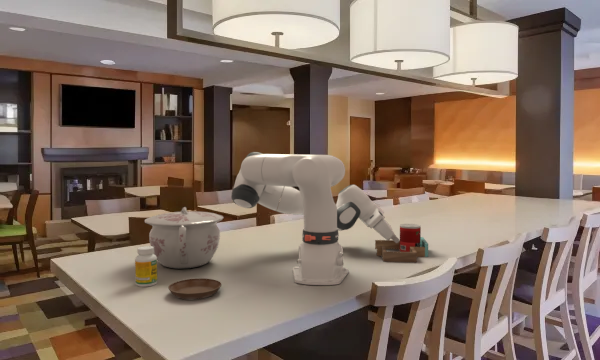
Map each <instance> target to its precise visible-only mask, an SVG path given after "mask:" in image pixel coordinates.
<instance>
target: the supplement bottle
mask: <svg viewBox="0 0 600 360" xmlns="http://www.w3.org/2000/svg"><path fill="white" fill-rule="evenodd" d="M136 252H137V254H138V255H136V257H135V258H134V266H135V267H134V268H135V269H134V270H135V285H136V286H137V287H140V288H146V287H152V286H155V285H156V284H157V283H158V260H157V257H156V255H154V254H153V253H154V247H152V246H151V245H150V246H149V245H145V246H140V247H137V251H136Z"/></svg>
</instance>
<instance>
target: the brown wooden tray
mask: <svg viewBox="0 0 600 360" xmlns="http://www.w3.org/2000/svg"><path fill="white" fill-rule="evenodd" d="M374 242H375V244H374V247H375V250H376V256H378V257H379V256H380V257H382V247H385V249H386V250H400V239H399V242H398V243H395V242H394V241H393V240H392V239H390V240H387V239H375V240H374ZM413 248H414V249H415V251H416V252H417V258H418V257H420V258H426V257H425V247H413Z"/></svg>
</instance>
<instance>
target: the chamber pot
mask: <svg viewBox="0 0 600 360" xmlns="http://www.w3.org/2000/svg"><path fill="white" fill-rule="evenodd" d="M224 218H225V217H224V216H223V215H222V214H217V213H214V212H210V211H209V212H208V211H196V210H195V211H194V210H193V211H192V210H191V211H190V210H189V211H188V210H187V207H186V206H184V207H182V208H181V210H180V211H174V212H172V211H171V212H165V213H161V214H156V215H152V216H150V217H146V219H144V223H145V224H147V225H149V226H152V228H151V229H150V231H149V233H148V234H149V235H148V237H149V245H150V246H152V247H154V253H153V254H154V255H156V257H157V263H158V264H160V265H162V266H164V267H166V268H169V269H175V270H184V269H185V270H187V269H193V268H198V267H202V266H205V265H206V264H208V263H209V262H210V261H211V260H212V258H213V257H214V255H215V254H216V252H217V250H218V248H219V245H220V239H221V230H220V228H219V226H218V225H217V224H218V222H220V221H223V219H224Z"/></svg>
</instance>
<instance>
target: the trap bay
mask: <svg viewBox="0 0 600 360" xmlns="http://www.w3.org/2000/svg"><path fill="white" fill-rule="evenodd" d="M381 258H382V262H384V263H385V262H387V263H389V262H390V263H391V262H392V263H417V262H418V260H417V258H418V257H417V252H416V251H415V249H414V248H413V247H410V252H400V251H392V250H391V251H390V250H388V251H387V249H385V247H382V256H381Z"/></svg>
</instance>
